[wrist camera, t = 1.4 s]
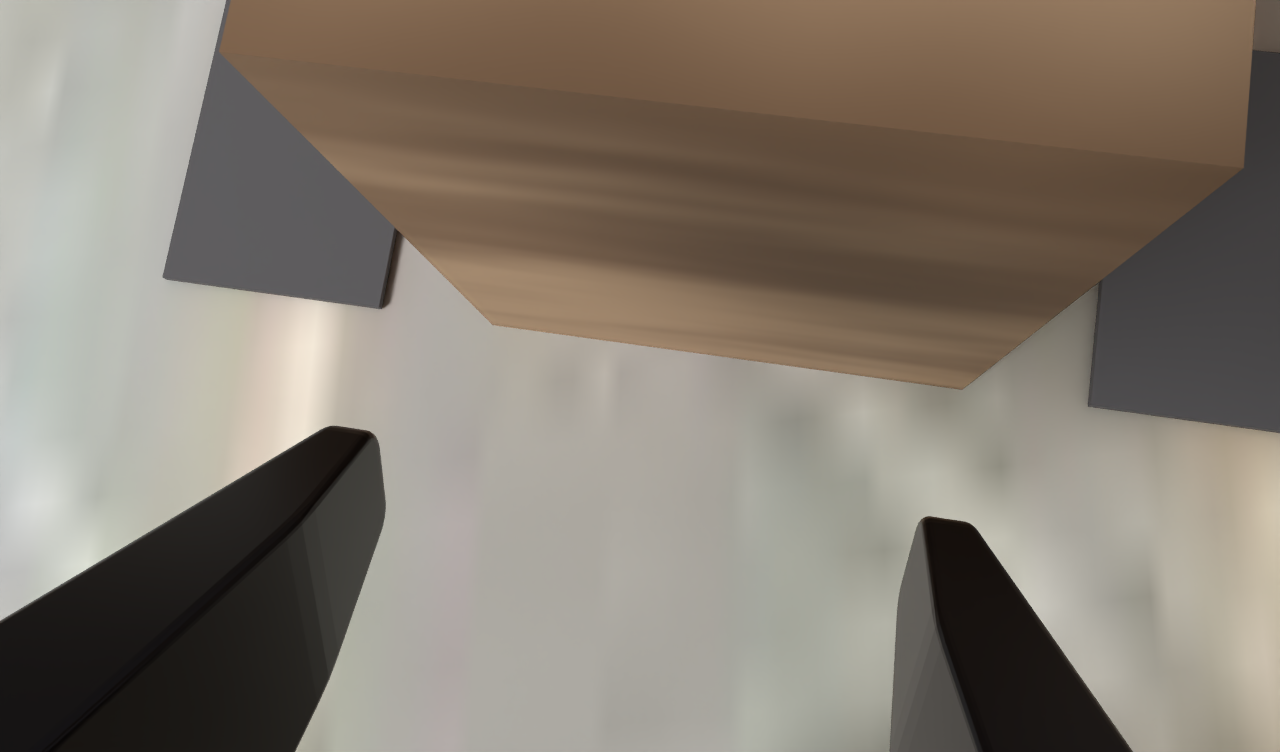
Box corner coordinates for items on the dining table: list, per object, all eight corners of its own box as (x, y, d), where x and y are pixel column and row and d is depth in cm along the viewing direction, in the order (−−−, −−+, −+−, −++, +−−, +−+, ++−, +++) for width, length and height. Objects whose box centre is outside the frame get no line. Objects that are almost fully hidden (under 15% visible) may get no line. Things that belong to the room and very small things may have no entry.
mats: (1346, 441, 22) (1351, 440, 22) (167, 279, 25) (162, 277, 25) (1367, 66, 23) (1372, 62, 23) (242, -49, 26) (238, -54, 26)
